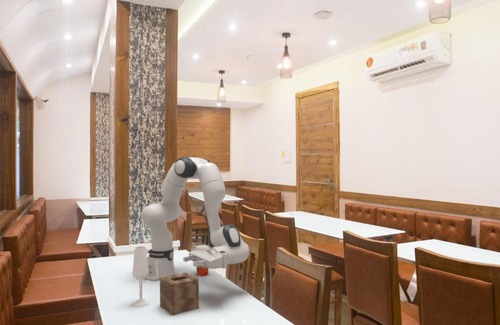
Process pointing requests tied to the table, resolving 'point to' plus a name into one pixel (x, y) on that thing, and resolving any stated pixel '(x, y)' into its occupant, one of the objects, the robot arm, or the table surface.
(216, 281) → the table surface
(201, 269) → the coffee cup
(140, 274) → the champagne flute
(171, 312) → the walnut tip box
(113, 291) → the table surface
